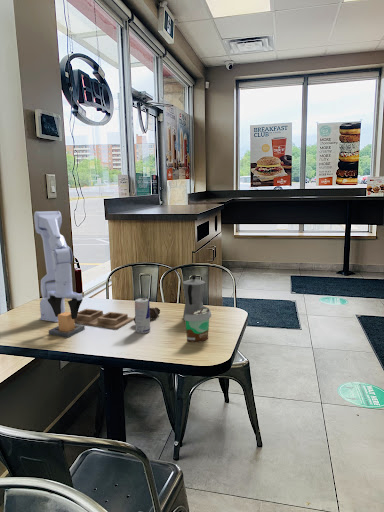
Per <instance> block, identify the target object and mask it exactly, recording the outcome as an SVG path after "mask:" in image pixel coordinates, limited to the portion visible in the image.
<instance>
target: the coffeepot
mask: <svg viewBox="0 0 384 512" xmlns="http://www.w3.org/2000/svg"><path fill="white" fill-rule="evenodd" d="M196 277H197V275H195V274H192V275H191V279H188V280H185V281H182V286H183V287H182V289H183V294H184V298H185V303H184V309H183V315H182V316H183V320H184V319H185V314H187V315H190V314H191V313H193V312H194V311H198V310H200V309H202V306H204V304H203V298H204V295H205V288H206V281H204V280H202V279H196Z"/></svg>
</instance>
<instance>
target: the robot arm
mask: <svg viewBox="0 0 384 512" xmlns="http://www.w3.org/2000/svg"><path fill="white" fill-rule="evenodd" d="M33 222H34V229H35V232H36V234H38V235H40V237H41V239H42V245H43V246H42V247H43V253H44V263H45V270H46V274H45V275H44V276H42V278H41V279H40V294H41V296H42V298H41V300H40V301H39V308H40V309H39V311H40V317H39V320H42V321H49V322H55V323H58V315H59V314H61V313H64V312H66V304H65V302H66V301H65V299H69V300H68V301H67V304H68V307H69V309H70V312H71V318H72V319H75V318H77V314H78V312H79V311H80V306H81V304H82V302H83V293H78V292H75V291H73V277H72V276H73V275H72V274H73V273H72V264H73V256H74V255H73V250H72V248H71V247H70V246H69V245H68V244H67V242H66V239H65V235H62V234H61V232H60V230H61V226H62V223H63V218H62V213H61V212H60V210H53V211H52V210H48V211H47V210H46V211H38V210H37V211H35V212H34V214H33Z"/></svg>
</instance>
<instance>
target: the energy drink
mask: <svg viewBox="0 0 384 512" xmlns="http://www.w3.org/2000/svg"><path fill="white" fill-rule="evenodd" d="M150 308H151V307H150V300H149V298H146V297H139V298H136V299H135V300H134V317H135V322H134V324H135V332H136V333H137V334H148V333H149V332H151V319H150Z"/></svg>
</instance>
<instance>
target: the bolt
mask: <svg viewBox="0 0 384 512" xmlns="http://www.w3.org/2000/svg"><path fill="white" fill-rule="evenodd" d="M160 313H161V309H160V308H158V307H150V320H155V319H157V318H158V316H159V315H160ZM133 318H134V320H133V322H134V323H135V316H134V317H133Z"/></svg>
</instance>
